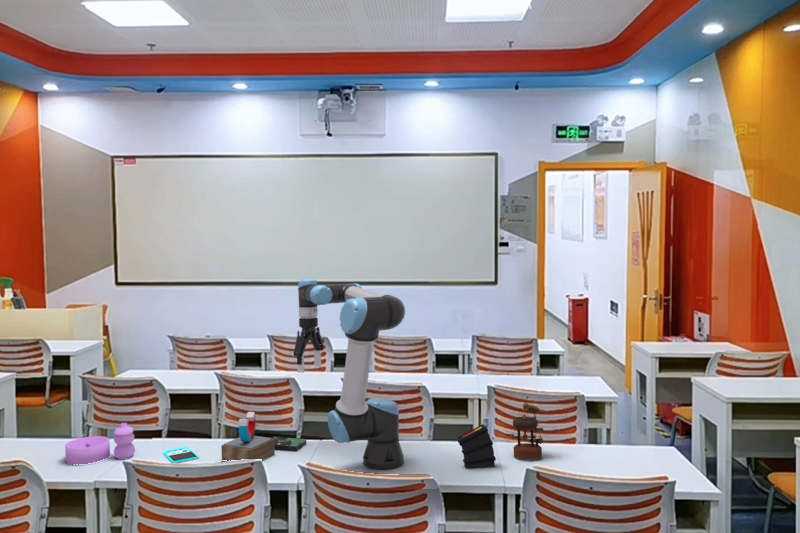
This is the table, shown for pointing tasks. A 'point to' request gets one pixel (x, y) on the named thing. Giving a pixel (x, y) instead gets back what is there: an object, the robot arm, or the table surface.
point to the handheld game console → (180, 455)
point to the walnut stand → (248, 449)
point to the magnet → (247, 427)
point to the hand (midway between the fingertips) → (309, 369)
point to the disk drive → (288, 443)
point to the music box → (526, 424)
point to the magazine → (477, 448)
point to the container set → (100, 447)
